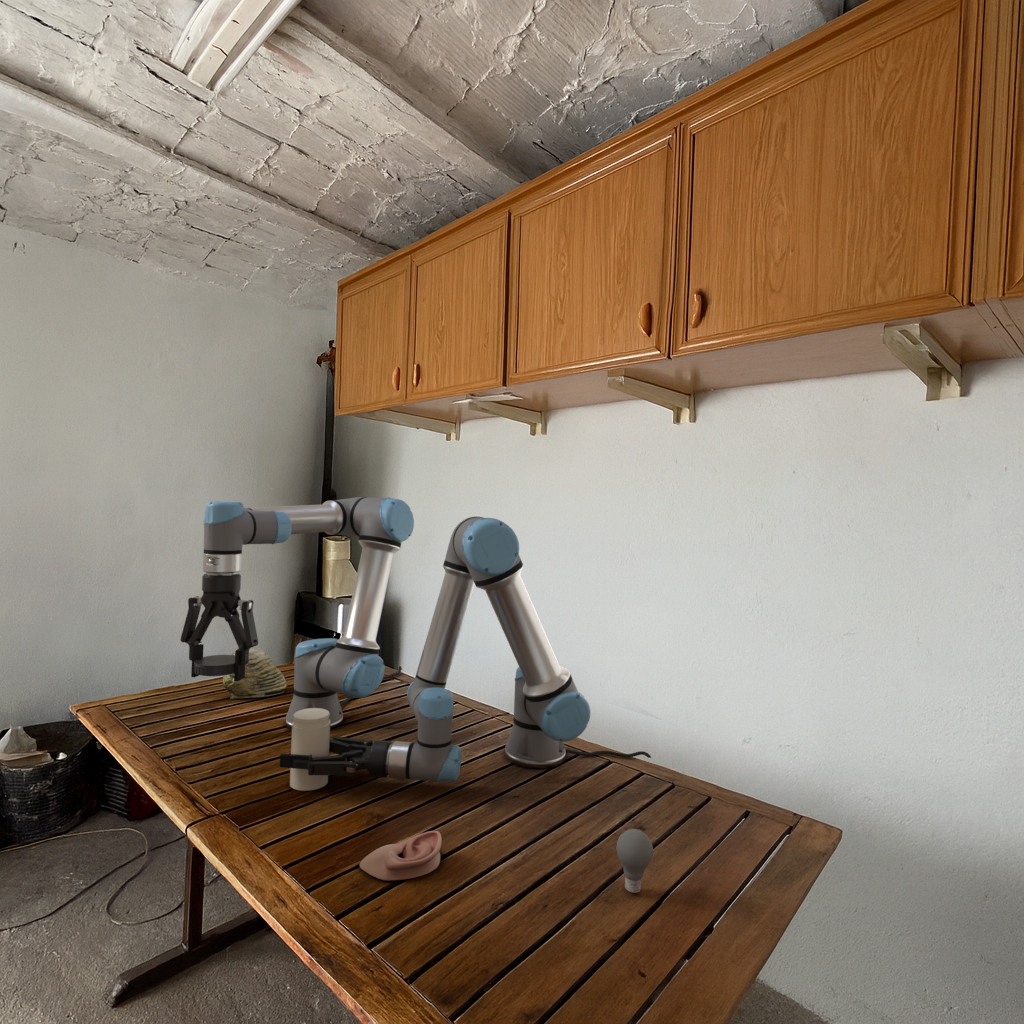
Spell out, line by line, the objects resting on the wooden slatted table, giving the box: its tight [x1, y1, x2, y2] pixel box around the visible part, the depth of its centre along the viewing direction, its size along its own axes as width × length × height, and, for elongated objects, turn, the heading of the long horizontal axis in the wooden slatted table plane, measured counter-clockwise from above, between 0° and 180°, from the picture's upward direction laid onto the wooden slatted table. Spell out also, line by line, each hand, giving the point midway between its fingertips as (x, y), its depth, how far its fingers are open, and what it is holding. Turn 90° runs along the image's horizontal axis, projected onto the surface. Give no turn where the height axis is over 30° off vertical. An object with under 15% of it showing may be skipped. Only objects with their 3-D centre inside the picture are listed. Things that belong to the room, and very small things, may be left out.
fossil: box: [222, 646, 288, 699], centre depth 198 cm, size 9×18×15 cm, turn 132°
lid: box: [194, 654, 235, 677], centre depth 136 cm, size 9×9×2 cm
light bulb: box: [615, 828, 654, 894], centre depth 106 cm, size 6×6×10 cm
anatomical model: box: [359, 830, 443, 882], centre depth 111 cm, size 13×4×12 cm
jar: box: [289, 708, 331, 792], centre depth 140 cm, size 8×8×15 cm
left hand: (218, 677), depth 136 cm, fingers closed on lid, 9 cm apart
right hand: (289, 752), depth 140 cm, fingers closed on jar, 8 cm apart
